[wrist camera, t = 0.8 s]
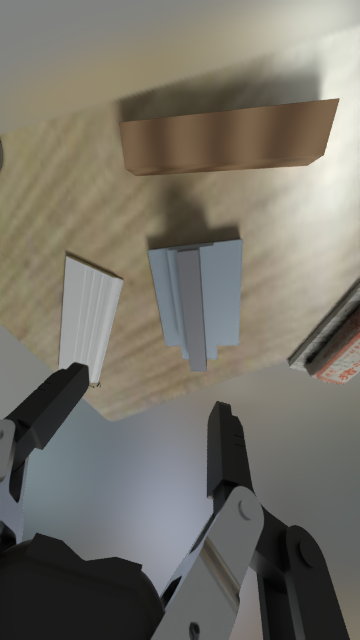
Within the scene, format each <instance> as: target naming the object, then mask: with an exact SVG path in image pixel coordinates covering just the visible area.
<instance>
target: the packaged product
mask: <svg viewBox="0 0 360 640" xmlns="http://www.w3.org/2000/svg"><path fill="white" fill-rule="evenodd" d="M288 363H289V367H292V368H294V369H297V370H300V371H303V372H306V373H309V375H310V376H312V377H314V378H317V379H318V380H321V381H322V382H327V383H328V382H331V383H336V384H344V383H346V382H347V381H348V380H350V379H351V378H352V377H354V376H355V375H356V374H357V373H358V372H360V283H358V284H357V286H356V287H355V288H354V289H353V290H352V291H351V292H350V294H349V295H348V296H347V297H346V298H345V299H344V300H343V301H342V303H341V304H340V305H339V306H338V307H337V308H336V309H335V310H334V311H333V312H332V313H331V314H330V315H329V316H328V317H327V318H326V320H325V321H324V322H323V323H322V324H321V325H320V326H319V327H318V328H317V329H316V330H315V332H314V333H313V334H312V335H311V336H310V337H309V338H308V339H307V341H306V342H305V343H304V344H303V345H302V346H301V348H300V349H299V350H298V351H297V352H296V354H295V355H294V356H293V357H292V358H291V360H290V361H288Z"/></svg>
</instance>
